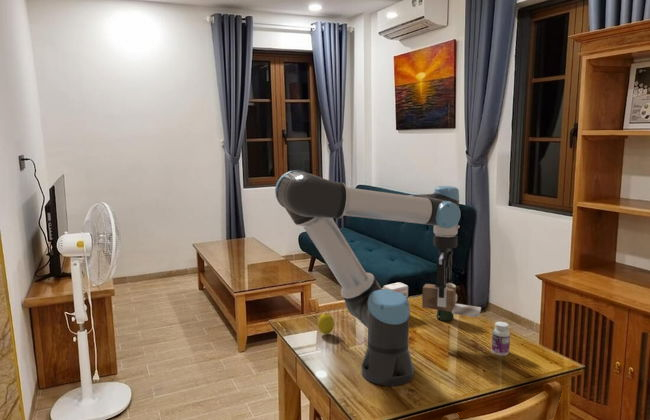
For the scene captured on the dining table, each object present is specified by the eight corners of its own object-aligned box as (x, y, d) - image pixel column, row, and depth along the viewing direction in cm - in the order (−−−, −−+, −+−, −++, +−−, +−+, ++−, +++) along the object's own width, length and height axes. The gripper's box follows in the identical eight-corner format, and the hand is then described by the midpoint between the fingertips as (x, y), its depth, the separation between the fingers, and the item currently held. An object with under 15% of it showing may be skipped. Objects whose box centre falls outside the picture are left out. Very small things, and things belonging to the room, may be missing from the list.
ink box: (391, 319, 185) (391, 289, 183) (382, 315, 189) (382, 285, 188) (408, 314, 190) (408, 285, 188) (399, 310, 194) (399, 281, 192)
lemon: (334, 331, 174) (334, 310, 173) (333, 338, 169) (333, 316, 167) (318, 331, 175) (318, 309, 173) (316, 337, 169) (316, 315, 168)
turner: (421, 308, 163) (421, 288, 162) (426, 302, 169) (426, 282, 168) (477, 317, 156) (478, 296, 154) (481, 310, 162) (481, 289, 161)
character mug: (427, 316, 188) (428, 283, 186) (441, 312, 192) (442, 280, 190) (448, 325, 179) (450, 291, 177) (462, 321, 183) (464, 287, 181)
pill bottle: (487, 350, 159) (489, 321, 158) (501, 347, 161) (502, 319, 159) (499, 357, 154) (500, 328, 153) (512, 354, 156) (514, 325, 154)
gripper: (451, 241, 150) (449, 314, 154) (462, 230, 166) (459, 297, 169) (427, 238, 154) (425, 311, 157) (439, 228, 169) (437, 294, 173)
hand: (443, 304), depth 163 cm, fingers closed on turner, 4 cm apart
